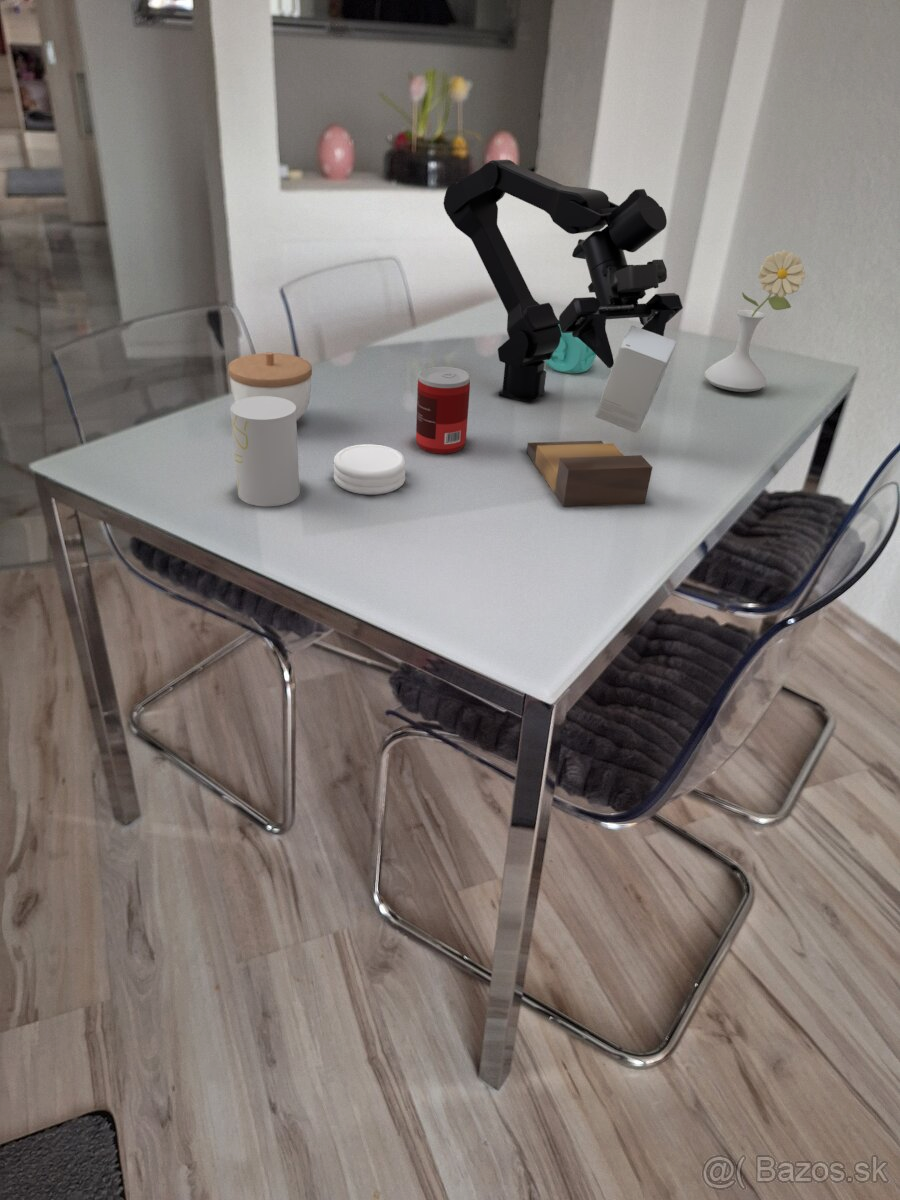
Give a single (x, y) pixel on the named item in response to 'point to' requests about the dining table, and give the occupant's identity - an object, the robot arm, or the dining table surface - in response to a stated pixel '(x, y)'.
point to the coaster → (369, 469)
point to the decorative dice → (571, 355)
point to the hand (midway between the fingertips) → (635, 364)
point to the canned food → (442, 409)
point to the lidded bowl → (272, 378)
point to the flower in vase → (738, 367)
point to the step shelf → (591, 472)
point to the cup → (265, 450)
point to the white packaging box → (635, 378)
